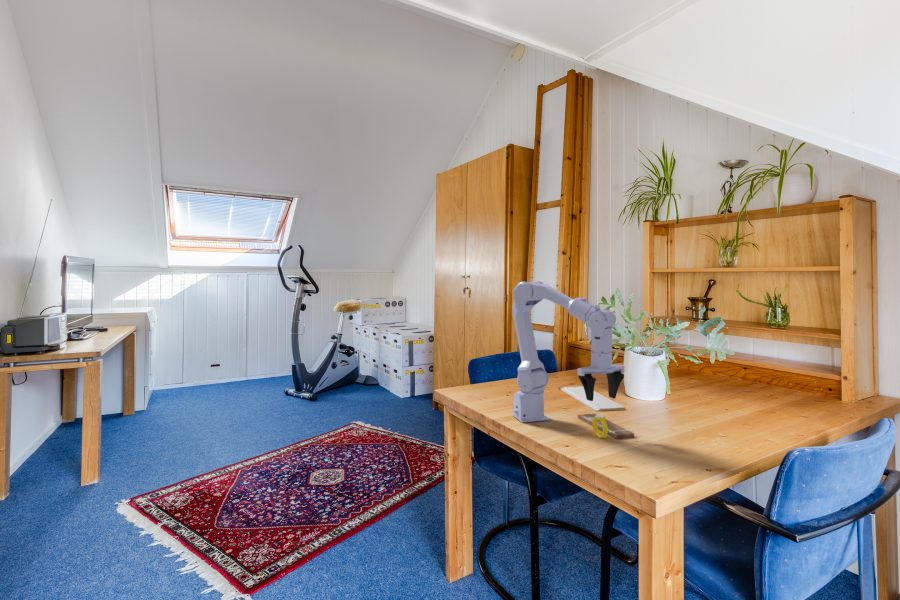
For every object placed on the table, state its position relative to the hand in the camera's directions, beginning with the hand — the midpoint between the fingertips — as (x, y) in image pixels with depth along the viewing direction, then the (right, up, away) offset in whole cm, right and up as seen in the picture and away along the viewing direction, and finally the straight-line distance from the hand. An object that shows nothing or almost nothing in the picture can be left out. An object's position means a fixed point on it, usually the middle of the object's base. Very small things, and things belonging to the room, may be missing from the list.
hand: (601, 398), depth 130 cm
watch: (-1, -11, -1) cm, 11 cm away
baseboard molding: (+8, -9, +40) cm, 42 cm away
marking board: (+3, -10, +7) cm, 13 cm away
